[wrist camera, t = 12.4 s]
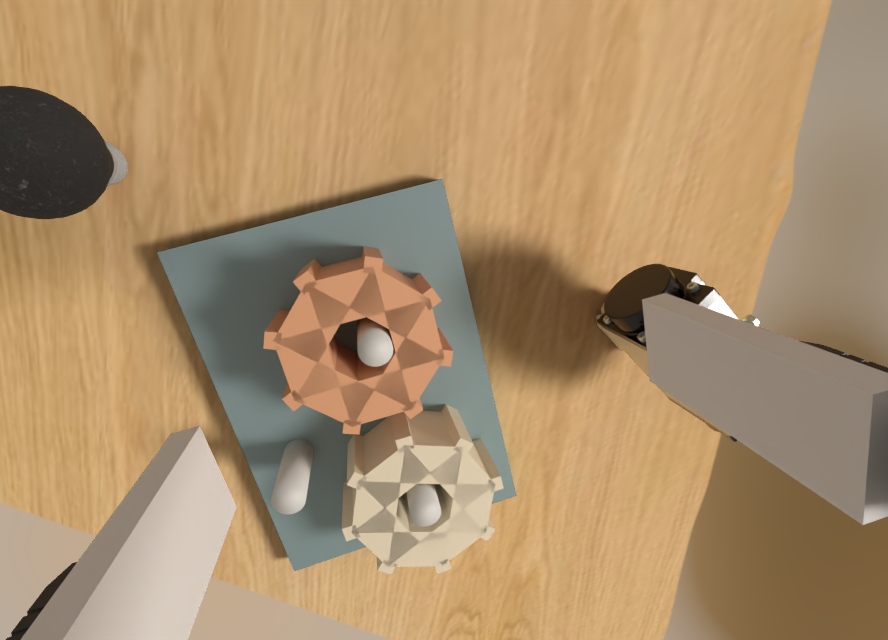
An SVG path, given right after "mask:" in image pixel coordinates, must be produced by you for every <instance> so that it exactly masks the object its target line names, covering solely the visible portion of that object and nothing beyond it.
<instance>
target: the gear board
mask: <svg viewBox="0 0 888 640" xmlns="http://www.w3.org/2000/svg"><path fill="white" fill-rule="evenodd" d="M363 246H364V247H371V248H378V249H379V250H380V252H381V255H382V257H383V263H385V264H387V265H388V266H390V267H392V268H394V269H395V270H397V271H399V272H400V273H402V274H404V275H406V276H407V277H409V278H411V279H413V278H414V277H415V276H417V275H418V274H419V273H420V274H421V275H422V276H423V277H424V278H425V280H426V281H427V282H428V283H429V284H430V286H431V287H432V288H433V289H434V291H435V292H436V294H437V295H438V296H439V298H440V299H441V300H442V301H441V302H440V303H438V304H437V305H436V306H434V307H433V308H432V309H433V313H434V317H435V321H436V325H437V328H439V329H440V330H441V332H442V333H443V335H444V336H445V338H446V340H447V341H448V343H449V344H450V346H451V348H452V349H453V357H452V363H451V367H450V366H439V367H438V369H437V371H436V372H435V374H434V375H433V377H432V379H431V380H430V382H429V383H428V385H427V387H426V388H425V390H424V391H423V393H422V394H421V396H420V400H421V403H422V407H423V411H421V412H420V413H418V414H417V415H416V416H414V417H413V418H412V419H409V417H408V416H407V415H406V414H405V413H404V412H401V413H397V414H394V415H391V416H387V417H384V418H380V419H377V420H374V421H370V422H367V423H363V424H361V427H360V435H358V434H343V422H340V421H338V420H336V419H334V418H332V417H329V416H327V415H325V414H323V413H321V412H319V411H316V410H314V409H312V408H310V407H308V406H305V405H302V406H300V407H299V408H298V409H296V410H295V411H293V410H292V409H291V408H290V407H289V406H288V405H287V404H286V403H285V402H284V401H283V400H282V397H283V394H284V391H285V389H286V386H287V383H288V381H287V378H286V376H285V373H284V370H283V367H282V364H281V362H280V359H279V356H278V353H277V350H272V349H263V346H264V333H265V330H266V329H267V327H268V325H269V324H270V322H271V321H272V319H273V318H274V316H275V315H276V313H277V312H278V310H285V311H290V310H291V308H292V306H293V304H294V303H295V301H296V299H297V297H298V296H299V294H300V292H301V291H300V290H299V289H298V288H297V286H296V285H295V284H294V283H293V281H294V279H295V278H296V276H297V275H298V273H299V272H300V270H301V269H302V268H303V267H304V266H305V265H307V264H308V263H309V262H311V261H312V260H313V259H316V260H317V262H318V263H319V264H320V265H321V267H324V266H328V265H332V264H336V263H340V262H344V261H348V260H352V259H356V258H359V257H362V253H363ZM157 254H158V256H159V258H160V261H161V263H162V265H163V268H164V270H165V272H166V275H167V277H168V279H169V282H170V284H171V286H172V289H173V291H174V293H175V296H176V298H177V300H178V303H179V305H180V307H181V309H182V312H183V314H184V316H185V319H186V321H187V323H188V326H189V328H190V330H191V333H192V335H193V337H194V340H195V342H196V344H197V347H198V349H199V351H200V354H201V356H202V358H203V360H204V363H205V365H206V367H207V370H208V372H209V374H210V377H211V379H212V381H213V384H214V386H215V388H216V391H217V393H218V395H219V398H220V400H221V402H222V404H223V407H224V409H225V411H226V414H227V416H228V418H229V421H230V423H231V425H232V428H233V430H234V432H235V435H236V437H237V439H238V442H239V444H240V446H241V449H242V451H243V453H244V455H245V458H246V460H247V462H248V465H249V467H250V469H251V472H252V474H253V476H254V479H255V481H256V483H257V486H258V488H259V490H260V493H261V495H262V497H263V499H264V502H265V504H266V506H267V509H268V511H269V513H270V516H271V518H272V520H273V523H274V525H275V527H276V530H277V532H278V534H279V537H280V539H281V541H282V544H283V546H284V548H285V550H286V553H287V555H288V557H289V560H290V562H291V564H292V567H293V569H294V571H296V570H299V569H302V568H305V567H308V566H311V565H314V564H317V563H320V562H323V561H326V560H329V559H332V558H335V557H337V556H340V555H343V554H346V553H349V552H352V551H355V550H358V549H361V548H364V547H367V548H368V549H369V550H370V551H371V552H372V553H373V554H375V555H376V556H377V569H378V571H381V572H384V573H387V574H390V575H391V574H392V572H393V571H394V569H395V567H414V566H435V569H436V572H437V574H438V573H441V572H444V571H447V570H450V569H451V567H450V563H449V561H450V560H451V559H452V558H454V557H455V556H456V555H458V554H459V553H460V552H462V551H463V550H464V549H465V548H467V547H468V546H469V545H471V544H472V543H473V542H475V541H476V540H477V539H479V538H482V539H484V540H487V541H488V540H489V539H490V537H491V535H492V534H493V532H494V531H495V527H494V525H493V522H492V520H491V517H490V510H491V505H492V504H493V503H496V502H499V501H502V500H505V499H508V498H511V497H514V496H516V491H515V487H514V483H513V478H512V474H511V470H510V466H509V461H508V457H507V453H506V448H505V444H504V440H503V436H502V431H501V427H500V423H499V418H498V414H497V410H496V406H495V401H494V397H493V393H492V388H491V384H490V380H489V376H488V371H487V367H486V363H485V358H484V354H483V350H482V346H481V341H480V337H479V333H478V328H477V324H476V320H475V316H474V311H473V307H472V303H471V298H470V294H469V290H468V286H467V281H466V277H465V273H464V268H463V264H462V260H461V256H460V251H459V247H458V243H457V238H456V234H455V230H454V225H453V221H452V217H451V213H450V208H449V204H448V200H447V195H446V191H445V187H444V183H443V179H440V180H436V181H432V182H428V183H424V184H420V185H416V186H413V187H409V188H405V189H401V190H397V191H393V192H389V193H385V194H381V195H377V196H374V197H370V198H366V199H362V200H358V201H354V202H350V203H346V204H342V205H339V206H335V207H331V208H327V209H323V210H319V211H315V212H311V213H307V214H303V215H300V216H296V217H292V218H288V219H284V220H280V221H276V222H272V223H268V224H265V225H261V226H257V227H253V228H249V229H245V230H241V231H237V232H233V233H229V234H226V235H222V236H218V237H214V238H210V239H206V240H202V241H198V242H194V243H191V244H187V245H183V246H179V247H175V248H171V249H167V250H164V251H160V252H157ZM335 336H336V339H337V342H338V344H340V345H342V346H344V347H346V348H348V349H350V350H352V351H354V352H355V353H358V356H359V358H360V359H361V361H362V362H363V363H365V364H366V365H368V366H372V367H378V366H382V365H384V364H386V363H387V362H388V361H389V360H390V358H391V357H392V354H393V345H392V341H391V337H390V333H389V329H387V328H386V327H384V326H382V325H380V324H378V323H376V322H374V321H373V320H371V319H369V318H367V317H365V318H361V319H358V320H354V321H350V322H347V323H343V324H340V326H339V327H338V329H337V331H336V333H335Z"/></svg>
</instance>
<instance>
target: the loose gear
mask: <svg viewBox="0 0 888 640" xmlns="http://www.w3.org/2000/svg"><path fill="white" fill-rule="evenodd" d="M293 283H294V284H295V285H296V286H297V288H298V289H299V290H300V291H301V292H300V294H299V296H298V297H297V299H296V301H295V303H294V304H293V306H292V308H291V310H290V311H285V310H278V312H277V313H276V315H275V316H274V318H273V319H272V321H271V322H270V324H269V325H268V327H267V329H266V330H265V333H264V346H263V349H272V350H277V353H278V356H279V359H280V362H281V364H282V367H283V370H284V373H285V376H286V378H287V381H288V383H287V386H286V389H285V391H284V394H283V397H282V400H283V401H284V402H285V403H286V404H287V405H288V406H289V407H290V408H291V409H292V410H293V411H295V410H296V409H298V408H299V407H300V406H302V405H305V406H308V407H310V408H312V409H314V410H316V411H319V412H321V413H323V414H325V415H327V416H329V417H332V418H334V419H336V420H338V421H340V422H343V434H358V435H360V427H361V424H363V423H367V422H370V421H374V420H377V419H380V418H384V417H387V416H391V415H394V414H397V413H401V412H404V413H405V414H406V415H407V416H408V417H409V419H412V418H413V417H414V416H416V415H417V414H418V413H420V412H421V411H423V407H422V403H421V400H420V396H421V394H422V393H423V391H424V390H425V388H426V387H427V385H428V383H429V382H430V380H431V379H432V377H433V375H434V374H435V372H436V371H437V369H438V367H439V366H450V367H451V363H452V357H453V349H452V348H451V346H450V344H449V343H448V341H447V340H446V338H445V336H444V335H443V333H442V332H441V330H440V329H439V328H437V325H436V321H435V317H434V313H433V309H432V308H433V307H434V306H436V305H437V304H438V303H440V302H441V301H442V300H441V299H440V298H439V296H438V295H437V294H436V292H435V291H434V289H433V288H432V287H431V286H430V284H429V283H428V282H427V281H426V280H425V278H424V277H423V276H422V275H421V274H420V273H419V274H418V275H417V276H415V277H414V278H413V279H411V278H409V277H407V276H406V275H404V274H402V273H400V272H399V271H397V270H395V269H394V268H392V267H390V266H388V265H387V264H385V263H383V257H382V255H381V252H380V250H379V249H378V248H371V247H364V246H363V253H362V257H359V258H356V259H352V260H348V261H344V262H340V263H336V264H332V265H328V266H324V267H321V265H320V264H319V263H318V262H317V260H316V259H313V260H312V261H311V262H309V263H308V264H307V265H305V266H304V267H303V268H302V269H301V270H300V272H299V273H298V275H297V276H296V278H295V279H294V281H293ZM365 317H367V318H369V319H371V320H373V321H374V322H376V323H378V324H380V325H382V326H384V327H386V328H387V329H389V333H390V337H391V341H392V345H393V354H392V357H391V358H390V360H389V361H388V362H387V363H386V364H384V365H382V366H378V367H372V366H368V365H366V364H365V363H363V362H362V361H361V359H360V358H359V356H358V353H355V352H354V351H352V350H350V349H348V348H346V347H344V346H342V345H340V344H338V342H337V339H336V336H335V333H336V331H337V329H338V327H339V326H340V324H343V323H347V322H350V321H354V320H358V319H361V318H365Z"/></svg>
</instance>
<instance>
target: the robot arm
mask: <svg viewBox="0 0 888 640" xmlns="http://www.w3.org/2000/svg"><path fill="white" fill-rule="evenodd" d="M642 305H643V315H644V326H645V336H646V347H647V357H648V368H649V378H650V381H651V382H653V383H654V384H656V385H657V386H658V387H660V388H661V389H663V390H664V391H666V392H667V393H669V394H670V395H672V396H673V397H675V398H676V399H678V400H679V401H681V402H682V403H684V404H685V405H687V406H688V407H689V408H691V409H692V410H694V411H695V412H697V413H698V414H700V415H701V416H703V417H704V418H706V419H707V420H709V421H710V422H712V423H713V424H715V425H716V426H718V427H719V428H721V429H722V430H723V431H725V432H726V433H728V434H729V435H731V436H732V437H734V438H735V439H737V440H738V441H740V442H741V443H743V444H744V445H746V446H747V447H749V448H750V449H752V450H753V451H754V452H756V453H757V454H759V455H761V456H762V457H763V458H765V459H766V460H768V461H769V462H771V463H772V464H774V465H775V466H777V467H778V468H780V469H781V470H783V471H784V472H785V473H787V474H788V475H790V476H791V477H793V478H794V479H796V480H797V481H799V482H800V483H802V484H803V485H805V486H806V487H808V488H809V489H811V490H812V491H814V492H815V493H817V494H818V495H819V496H821V497H823V498H824V499H825V500H827V501H828V502H830V503H831V504H833V505H834V506H836V507H837V508H839V509H840V510H842V511H843V512H845V513H846V514H847V515H849V516H851V517H852V518H853V519H855V520H856V521H858V522H859V523H861V524H862V525H864V524H867V523H870V522H872V521H875V520H878V519H881V518H884V517H887V516H888V368H887V367H884V366H881V365H878V364H876V363H873V362H868V363H867V362H866V361H865V360H864V359H861V358H858V357H855V356H853V355H848V356H847V355H846V353H844V352H841V351H838V350H836V349H833V348H830V347H827V346H824V345H820V344H814V343H809V342H803V341H797V340H795V339H792V338H789V337H786V336H783V335H781V334H778V333H775V332H772V331H770V330H767V329H764V328H761V327H758V326H756V325H753V324H750V323H747V322H745V321H742V320H739V319H736V318H733V317H731V316H728V315H725V314H722V313H720V312H717V311H714V310H711V309H708V308H706V307H703V306H700V305H697V304H695V303H692V302H689V301H686V300H683V299H681V298H678V297H675V296H672V295H670V294H667V293H663V294H660V295H656V296H653V297H649V298H646V299H642ZM235 510H236V504H235V502H234V500H233V498H232V496H231V493H230V491H229V489H228V487H227V485H226V482H225V480H224V478H223V476H222V474H221V471H220V469H219V467H218V465H217V463H216V460H215V458H214V456H213V454H212V452H211V450H210V447H209V445H208V443H207V441H206V439H205V436H204V434H203V432H202V430H201V428H200V426H198V427H195V428H191V429H188V430H184V431H181V432H177V433H174V434H171V435H170V436H169V438H168V439H167V440H166V442H165V443H164V445H163V446H162V447H161V449H160V450H159V451H158V453H157V454H156V455H155V457H154V458H153V460H152V461H151V462H150V464H149V465H148V466H147V468H146V469H145V470H144V472H143V473H142V475H141V476H140V477H139V479H138V480H137V481H136V483H135V484H134V486H133V487H132V488H131V490H130V491H129V492H128V494H127V495H126V496H125V498H124V499H123V501H122V502H121V503H120V505H119V506H118V507H117V509H116V510H115V511H114V513H113V514H112V516H111V517H110V518H109V520H108V521H107V522H106V524H105V525H104V526H103V528H102V529H101V531H100V532H99V533H98V535H97V536H96V537H95V539H94V540H93V541H92V543H91V544H90V546H89V547H88V548H87V550H86V551H85V552H84V554H83V555H82V557H81V558H80V559H79V561H78V562H75V563H72V564H71V565H70V566H69V567H68V568H67V569H66V570H65V571H63V572H62V573H61V574H60V575H59V576H58V577H57V578H56V579H55V580H53V581H52V582H51V583H50V584H49V585H48V586H47V587H46V588H45V589H44V591H43V592H42V593H41V594H40V596H39V597H38V598H37V600H36V601H35V602H34V604H33V605H32V606H31V608H30V609H29V610H28V612H27V613H28V615H27V616H25V617H23V618H22V619H21V621H20V622H19V623H18V625H17V626H16V627H15V629H14V630H13V631H12V633H11V634H12V636H11V637H9V638H7V639H6V640H188V638H189V635H190V632H191V630H192V627H193V624H194V621H195V619H196V616H197V613H198V610H199V608H200V605H201V602H202V600H203V597H204V594H205V591H206V589H207V586H208V583H209V581H210V578H211V575H212V572H213V570H214V567H215V564H216V561H217V559H218V556H219V553H220V551H221V548H222V545H223V542H224V540H225V537H226V534H227V532H228V529H229V526H230V523H231V521H232V518H233V515H234V513H235Z"/></svg>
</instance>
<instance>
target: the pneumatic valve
mask: <svg viewBox="0 0 888 640" xmlns="http://www.w3.org/2000/svg"><path fill="white" fill-rule="evenodd" d="M663 293H667V294H670V295H672V296H675V297H678V298H681V299H683V300H686V301H689V302H692V303H695V304H697V305H700V306H703V307H706V308H708V309H711V310H714V311H717V312H720V313H722V314H725V315H728V316H731V317H733V318H736V319H738V318H737V316H736V315H735V314H734V312H733V311H732V310H731V309H730V307H729V306H728V305H727V304H726V302H725V301H724V300H723V298H722V297H721V296H720V295H719V293H718V292H717V291H716V290H715V288H713V287H710V286H706V285H705V283H704V282H703V281H702V280H701V278H700V277H699V276H698V275H697V273H693V272H689V271H684V270H680V269H676V268H671V267H667V266H665V265H662V264H651V265H646V266H643V267H641V268H638V269H636V270H634V271H633V272H631V273H629V274H628V275H626V276H625V277H624V278H622V279H621V280H620V281H619V282H618V283H617V284H616V285H615V286H614V287H613V288H612V289H611V291H610V292H609V294H608V296H607V297H606V300H605V302H604V303H603V305H602V307H601V313H602V314H600V315H597V316H596V321H597V322H596V324H597V326H598V327H599V328H600V329H601V330H602V331H603V332H604V333H605V334H606V335H607V336H608V337H609V338H610V339H611V341H612V342H613V343H614V344H615V345H616V346H617V347H618V348H619V349H620V350H621V351H625V352H626V353H627V354H628V355H629V357H630V358H631V359H632V360H633V361H634V362H635V363H636V364H637V365H638V366H639V367H640V368H641V369H642V370H643V372H644V373H645V374H646V375H647V376H648V377H649V368H648V357H647V347H646V336H645V326H644V315H643V305H642V299H646V298H649V297H653V296H656V295H660V294H663ZM743 320H744V321H745V322H747V323H750V324H753V325H756V326H758V325H759V321H758V319H757V318H755V317H754V316H752V315H746V316H745V317H744V318H743ZM657 387H658V386H657ZM658 388H659V389H660V390H661V391H662V392H663V393H664V394H665V395H666V396H667V397H668V398H669V399H670V400H671V401H673V402H674V403H676V404H677V405H679V406H680V407H682V408H683V409H685V410H686V411H688V412H689V413H691V414H692V415H694V416H695V417H697V418H699V419H700V420H702V421H703V422H705V423H706V424H707V425H708V426H709V427H710V428H711V429H713V430H715V431H717V432H720V433H722V434H723V435H725V436H726V437H728V438H729V439H731V440H732V441H734V442H735V441H737V439H735V438H734V437H732V436H731V435H729V434H728V433H726V432H725V431H723V430H722V429H721V428H719V427H718V426H716V425H715V424H713V423H712V422H710V421H709V420H707V419H706V418H704V417H703V416H701V415H700V414H698V413H697V412H695V411H694V410H692V409H691V408H689V407H688V406H687V405H685V404H684V403H682V402H681V401H679V400H678V399H676V398H675V397H673V396H672V395H670V394H669V393H667V392H666V391H664V390H663V389H661V388H660V387H658Z"/></svg>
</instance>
